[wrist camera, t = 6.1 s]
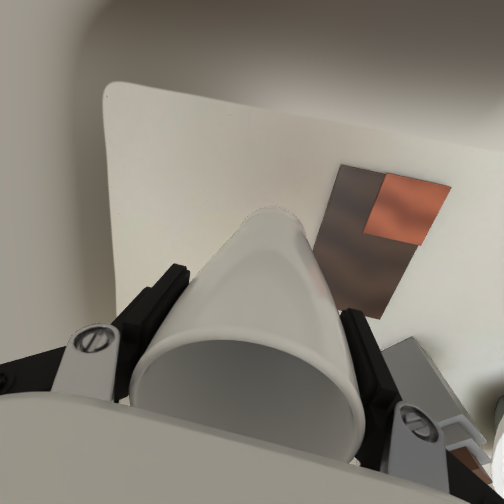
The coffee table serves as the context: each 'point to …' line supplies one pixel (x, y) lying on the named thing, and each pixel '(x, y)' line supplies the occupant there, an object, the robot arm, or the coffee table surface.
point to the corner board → (373, 235)
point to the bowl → (498, 450)
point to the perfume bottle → (437, 403)
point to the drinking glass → (258, 346)
